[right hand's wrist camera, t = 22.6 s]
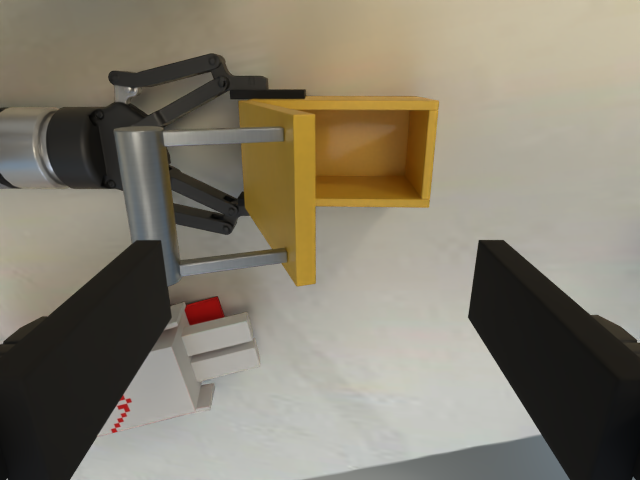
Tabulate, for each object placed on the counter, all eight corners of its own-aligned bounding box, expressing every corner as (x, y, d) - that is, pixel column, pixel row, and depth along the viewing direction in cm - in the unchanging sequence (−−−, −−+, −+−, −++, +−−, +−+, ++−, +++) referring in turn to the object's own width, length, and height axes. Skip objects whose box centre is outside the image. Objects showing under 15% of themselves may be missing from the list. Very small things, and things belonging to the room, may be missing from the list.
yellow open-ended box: (416, 96, 44) (439, 100, 34) (410, 181, 47) (429, 207, 38) (266, 96, 45) (246, 100, 35) (269, 180, 48) (252, 205, 38)
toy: (266, 411, 47) (-12, 482, 45) (264, 345, 60) (47, 398, 58) (238, 317, 43) (-69, 390, 41) (242, 267, 56) (8, 321, 54)
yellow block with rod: (315, 114, 20) (105, 118, 17) (316, 284, 23) (138, 311, 21) (252, 100, 35) (130, 101, 32) (257, 207, 38) (147, 217, 35)
